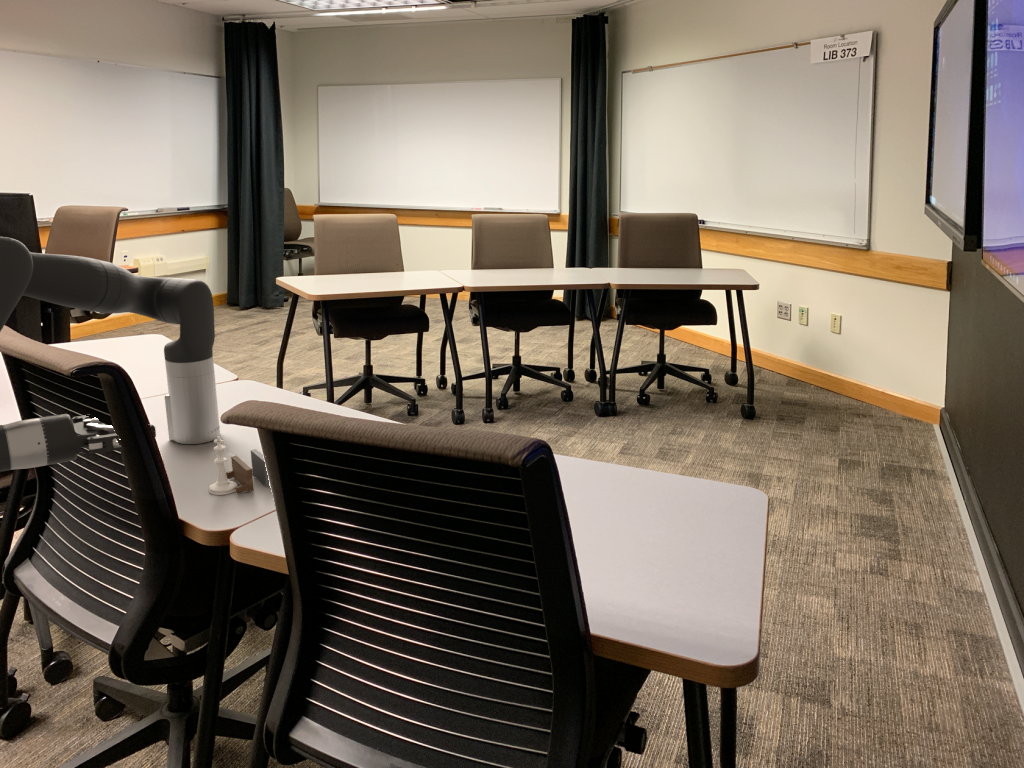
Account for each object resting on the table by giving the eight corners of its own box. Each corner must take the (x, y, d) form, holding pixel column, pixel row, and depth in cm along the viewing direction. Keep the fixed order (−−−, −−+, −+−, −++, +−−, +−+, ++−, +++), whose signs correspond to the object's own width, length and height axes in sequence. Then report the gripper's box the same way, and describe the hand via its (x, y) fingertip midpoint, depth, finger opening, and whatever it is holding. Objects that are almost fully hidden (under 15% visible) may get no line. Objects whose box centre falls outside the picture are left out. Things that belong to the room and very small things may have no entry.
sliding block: (237, 494, 154) (235, 472, 153) (222, 479, 161) (220, 458, 160) (253, 490, 156) (252, 469, 155) (238, 475, 162) (236, 455, 161)
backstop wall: (266, 487, 158) (264, 461, 157) (252, 475, 163) (250, 450, 162) (271, 486, 159) (269, 460, 157) (257, 474, 164) (255, 449, 163)
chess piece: (229, 496, 154) (224, 442, 152) (203, 493, 155) (198, 440, 152) (242, 485, 159) (238, 433, 156) (217, 483, 160) (212, 431, 157)
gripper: (44, 431, 131) (157, 413, 140) (29, 407, 142) (135, 392, 151) (50, 478, 133) (162, 457, 142) (35, 451, 144) (140, 434, 153)
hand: (148, 424), depth 147 cm, fingers open, 8 cm apart
